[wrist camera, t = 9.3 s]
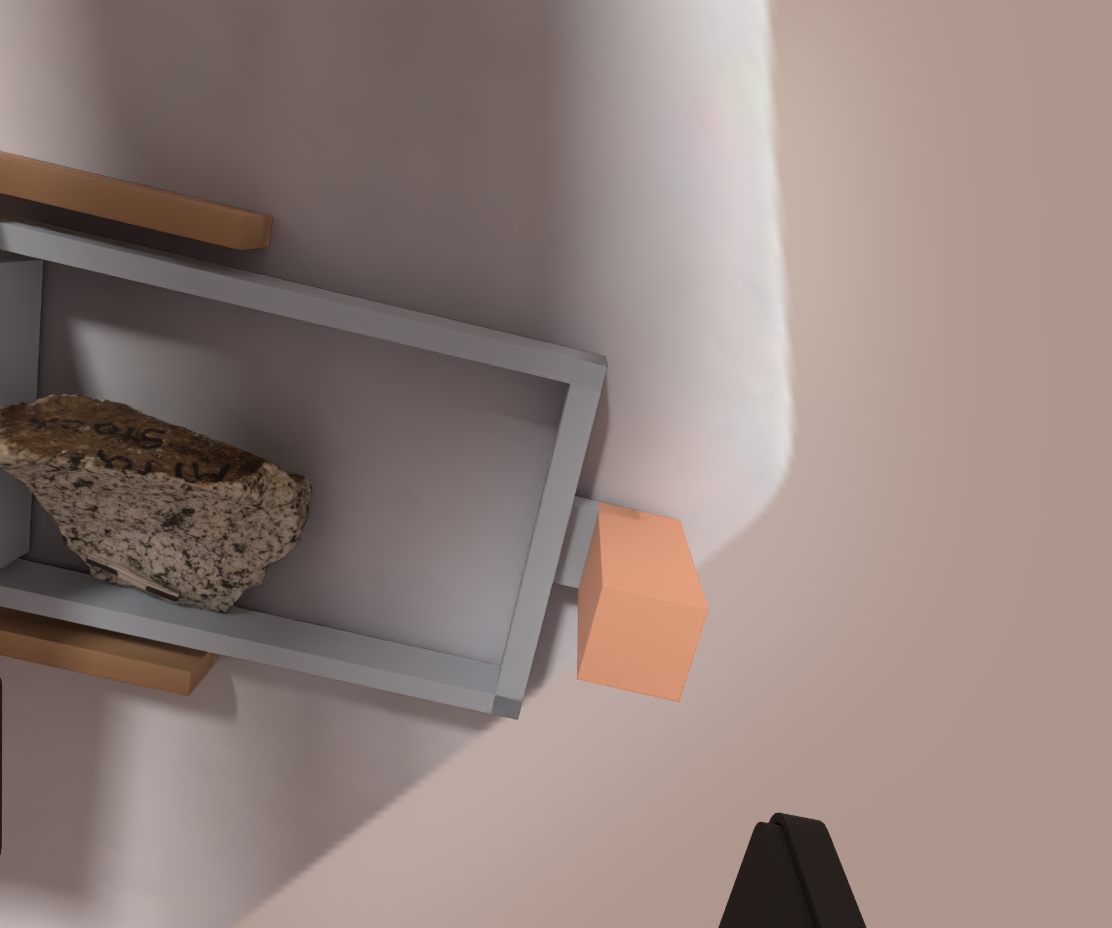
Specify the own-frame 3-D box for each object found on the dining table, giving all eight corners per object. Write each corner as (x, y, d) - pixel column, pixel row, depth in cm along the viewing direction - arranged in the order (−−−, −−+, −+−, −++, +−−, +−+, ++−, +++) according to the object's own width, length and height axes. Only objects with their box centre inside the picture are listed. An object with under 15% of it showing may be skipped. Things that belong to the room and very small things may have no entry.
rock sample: (-19, 668, 28) (-66, 596, 21) (12, 463, 31) (-20, 340, 24) (296, 657, 33) (345, 595, 26) (296, 479, 36) (339, 379, 29)
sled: (14, 216, 27) (-171, 216, 20) (720, 383, 28) (763, 436, 21) (0, 574, 31) (-160, 673, 24) (622, 711, 32) (633, 844, 25)
